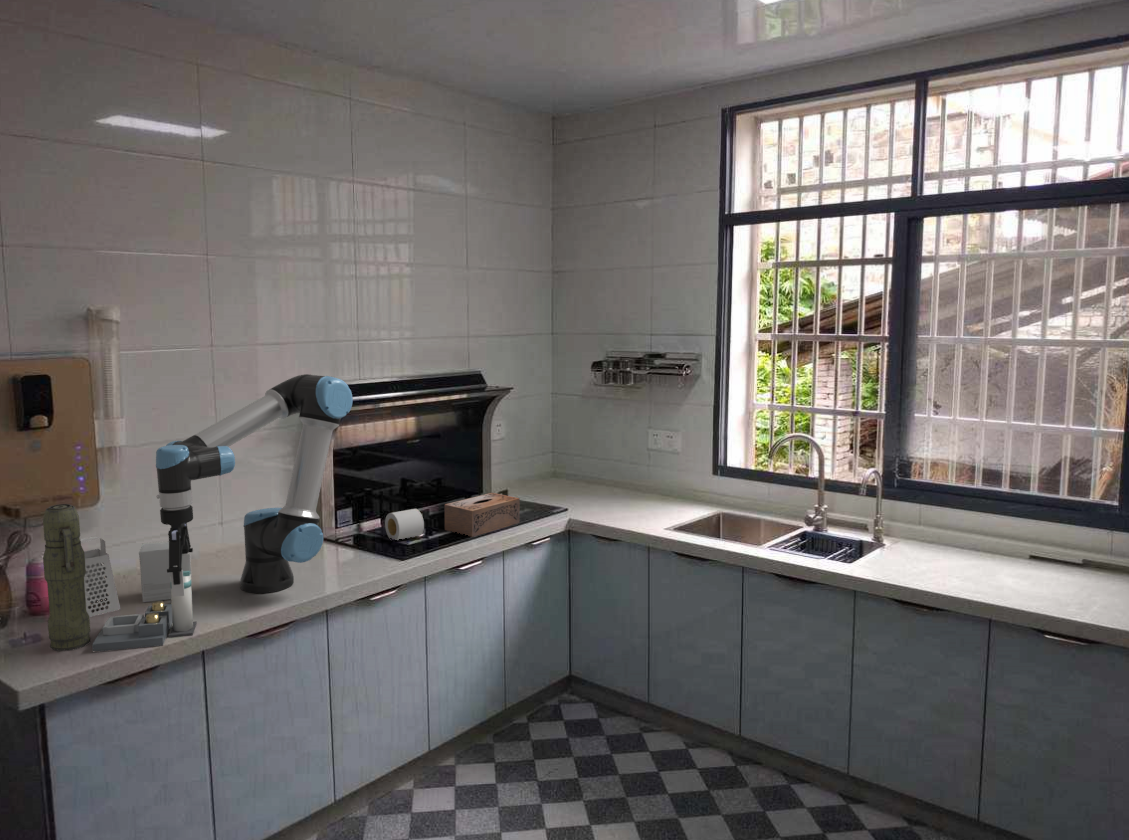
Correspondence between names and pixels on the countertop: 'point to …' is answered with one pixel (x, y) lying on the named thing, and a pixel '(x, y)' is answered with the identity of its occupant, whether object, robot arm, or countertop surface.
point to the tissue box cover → (482, 514)
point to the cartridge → (183, 606)
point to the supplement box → (155, 571)
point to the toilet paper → (404, 524)
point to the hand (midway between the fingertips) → (182, 586)
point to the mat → (183, 633)
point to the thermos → (65, 579)
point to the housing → (134, 631)
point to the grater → (99, 580)
